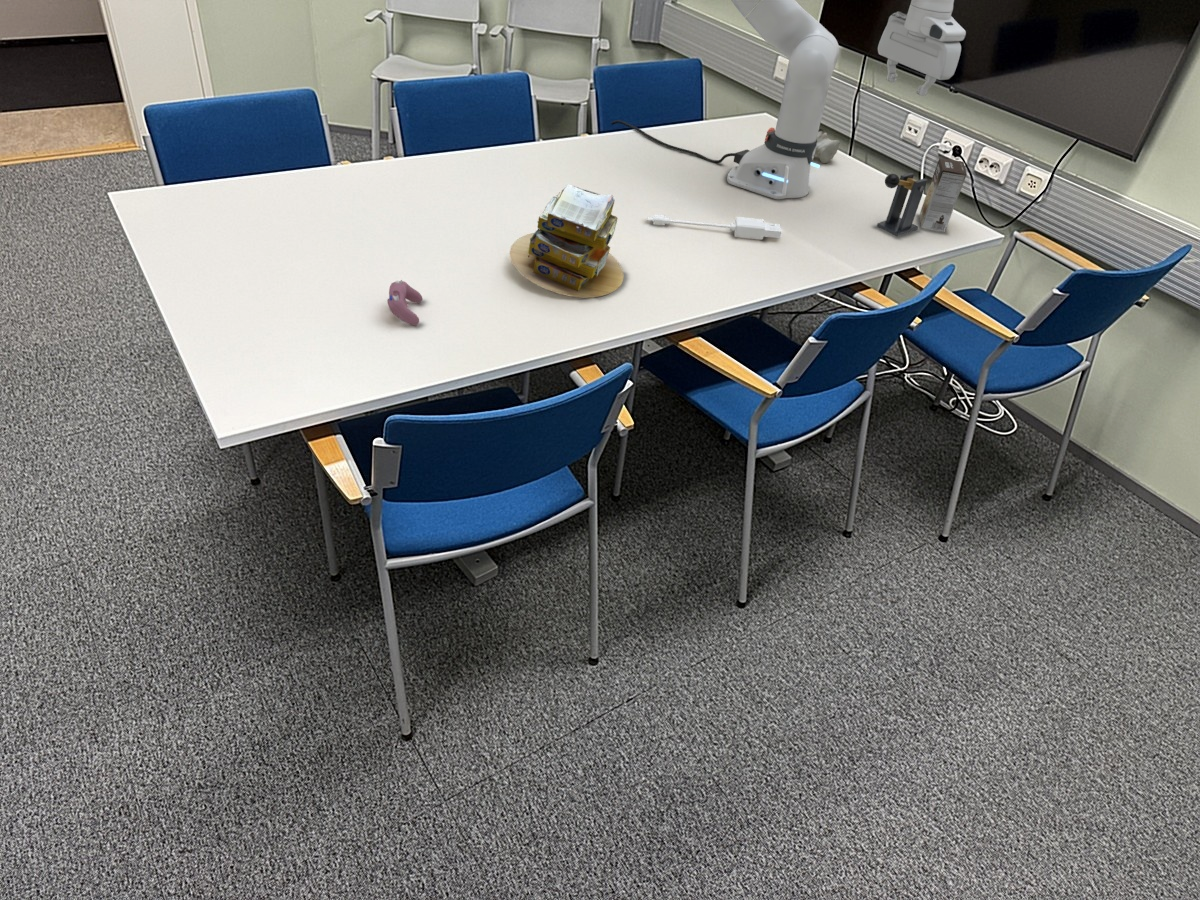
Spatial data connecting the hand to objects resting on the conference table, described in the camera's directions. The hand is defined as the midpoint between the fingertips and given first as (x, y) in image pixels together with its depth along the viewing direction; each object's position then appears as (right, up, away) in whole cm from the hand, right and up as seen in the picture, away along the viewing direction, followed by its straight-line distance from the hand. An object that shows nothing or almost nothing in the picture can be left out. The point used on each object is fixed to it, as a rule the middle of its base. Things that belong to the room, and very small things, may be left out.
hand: (905, 88), depth 198 cm
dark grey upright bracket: (+8, -25, +29) cm, 39 cm away
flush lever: (+5, -17, +19) cm, 26 cm away
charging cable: (-41, -28, +16) cm, 52 cm away
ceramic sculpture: (-5, +6, +65) cm, 65 cm away
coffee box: (+19, -22, +34) cm, 45 cm away
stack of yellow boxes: (-76, -43, -8) cm, 88 cm away
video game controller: (-107, -55, -28) cm, 123 cm away
